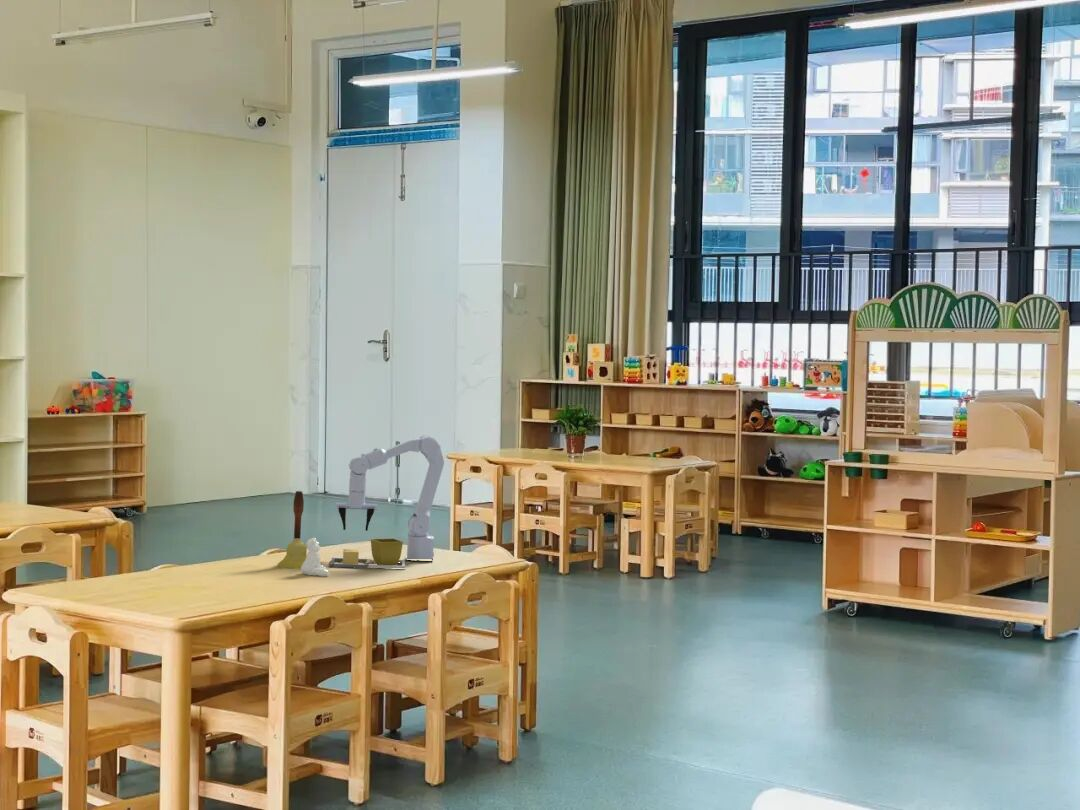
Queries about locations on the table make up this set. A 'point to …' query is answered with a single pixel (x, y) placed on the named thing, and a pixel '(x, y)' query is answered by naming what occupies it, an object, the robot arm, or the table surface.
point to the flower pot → (386, 551)
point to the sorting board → (364, 565)
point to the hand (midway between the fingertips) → (355, 529)
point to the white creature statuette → (313, 560)
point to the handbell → (296, 538)
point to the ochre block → (350, 556)
